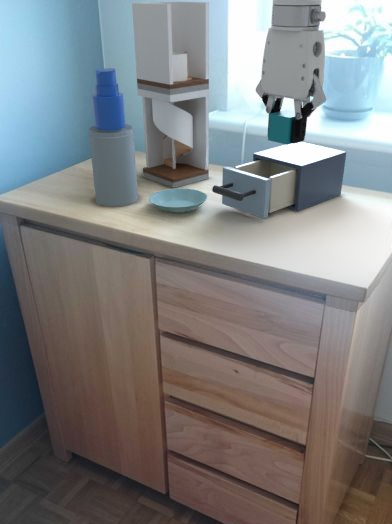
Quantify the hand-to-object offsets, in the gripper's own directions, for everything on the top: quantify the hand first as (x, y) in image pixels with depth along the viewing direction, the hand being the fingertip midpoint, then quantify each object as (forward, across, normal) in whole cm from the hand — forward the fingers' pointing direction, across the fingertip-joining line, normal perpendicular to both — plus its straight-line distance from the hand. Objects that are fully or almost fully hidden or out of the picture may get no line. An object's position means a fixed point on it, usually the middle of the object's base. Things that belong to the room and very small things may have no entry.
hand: (285, 138), depth 98 cm
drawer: (+15, +8, -3) cm, 17 cm away
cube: (0, 0, 0) cm, 0 cm away
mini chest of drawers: (+16, +8, -15) cm, 23 cm away
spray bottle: (+16, +33, +14) cm, 39 cm away
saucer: (+16, +20, +8) cm, 27 cm away
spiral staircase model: (+16, +36, -5) cm, 40 cm away
